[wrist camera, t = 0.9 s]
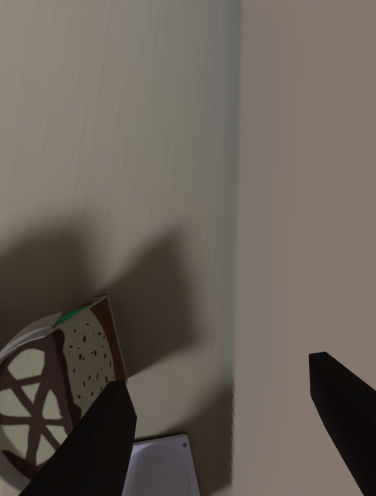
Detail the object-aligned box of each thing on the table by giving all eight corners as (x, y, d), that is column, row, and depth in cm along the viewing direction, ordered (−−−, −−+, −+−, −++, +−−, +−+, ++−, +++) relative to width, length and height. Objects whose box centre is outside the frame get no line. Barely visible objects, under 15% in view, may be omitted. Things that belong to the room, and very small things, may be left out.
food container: (44, 290, 22) (-68, 346, 12) (104, 279, 22) (41, 326, 12) (74, 401, 24) (-4, 529, 14) (131, 391, 24) (93, 512, 14)
